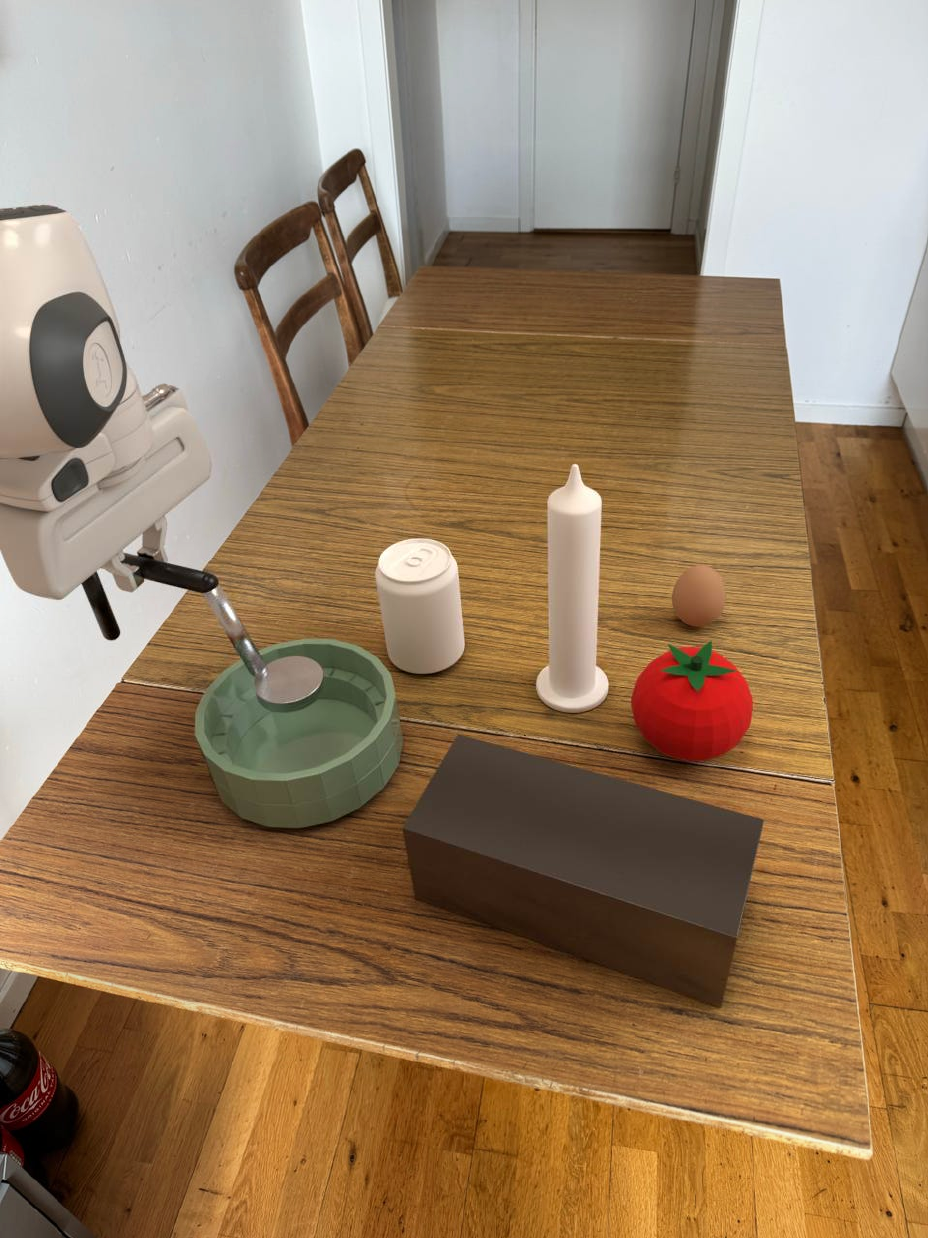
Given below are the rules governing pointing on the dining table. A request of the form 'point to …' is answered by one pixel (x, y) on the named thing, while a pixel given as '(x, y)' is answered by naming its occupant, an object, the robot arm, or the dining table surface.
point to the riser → (585, 864)
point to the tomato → (692, 703)
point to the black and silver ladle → (275, 683)
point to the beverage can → (420, 605)
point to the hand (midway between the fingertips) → (144, 576)
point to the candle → (573, 599)
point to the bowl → (302, 738)
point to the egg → (699, 596)
